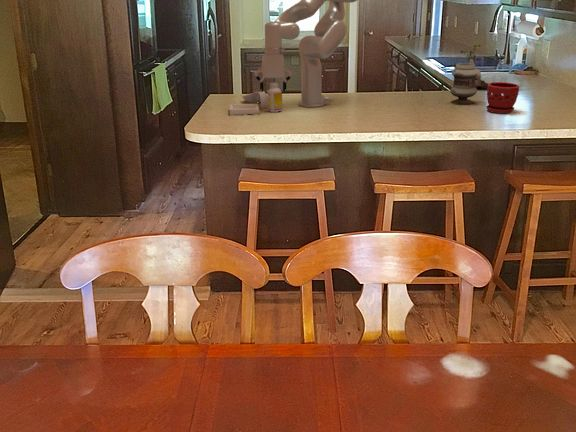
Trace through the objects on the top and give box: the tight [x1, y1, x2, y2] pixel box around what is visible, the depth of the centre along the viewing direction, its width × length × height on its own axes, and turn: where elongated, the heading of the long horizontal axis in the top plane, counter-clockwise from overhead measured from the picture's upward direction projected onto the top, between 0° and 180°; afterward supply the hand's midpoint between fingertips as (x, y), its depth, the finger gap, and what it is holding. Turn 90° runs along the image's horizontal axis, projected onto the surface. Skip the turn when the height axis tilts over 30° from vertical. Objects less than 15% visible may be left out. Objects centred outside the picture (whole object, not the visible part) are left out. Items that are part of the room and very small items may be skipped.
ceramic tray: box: [229, 103, 260, 116], centre depth 279 cm, size 13×13×2 cm
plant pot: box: [485, 81, 520, 114], centre depth 268 cm, size 13×13×12 cm
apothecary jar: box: [449, 62, 478, 106], centre depth 288 cm, size 12×12×18 cm
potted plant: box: [453, 44, 490, 89], centre depth 330 cm, size 20×19×25 cm
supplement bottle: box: [266, 81, 283, 113], centre depth 278 cm, size 7×7×13 cm
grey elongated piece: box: [241, 90, 268, 109], centre depth 297 cm, size 24×12×7 cm, turn 21°
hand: (273, 91), depth 277 cm, fingers open, 9 cm apart
